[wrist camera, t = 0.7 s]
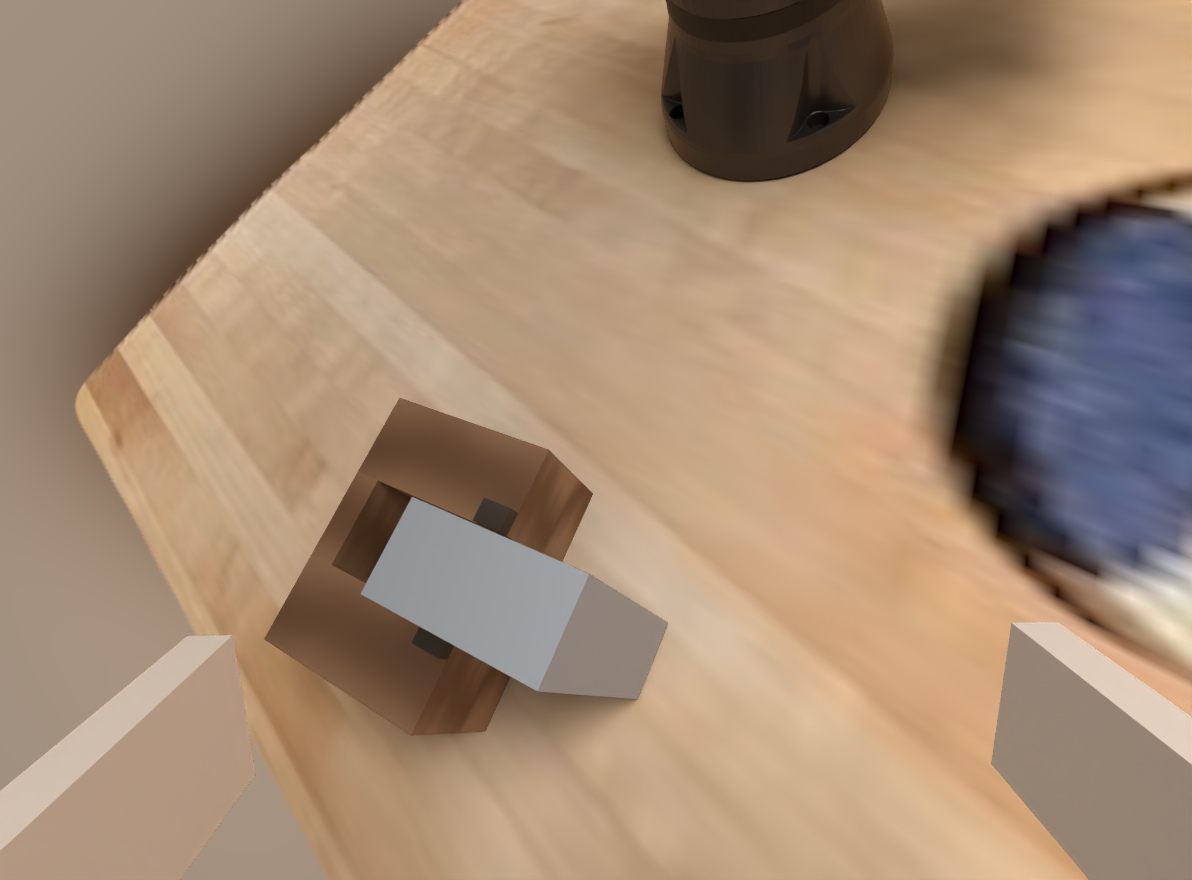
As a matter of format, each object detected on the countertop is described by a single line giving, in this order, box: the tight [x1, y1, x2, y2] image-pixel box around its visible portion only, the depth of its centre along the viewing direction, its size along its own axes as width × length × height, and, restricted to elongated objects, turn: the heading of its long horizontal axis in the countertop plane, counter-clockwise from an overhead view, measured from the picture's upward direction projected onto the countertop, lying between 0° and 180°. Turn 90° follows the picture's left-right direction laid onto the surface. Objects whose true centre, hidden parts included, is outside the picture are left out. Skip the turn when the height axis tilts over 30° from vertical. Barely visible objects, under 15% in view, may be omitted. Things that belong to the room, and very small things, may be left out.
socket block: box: [265, 398, 593, 736], centre depth 34 cm, size 14×10×8 cm
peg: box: [361, 497, 668, 699], centre depth 28 cm, size 4×8×13 cm, turn 64°
